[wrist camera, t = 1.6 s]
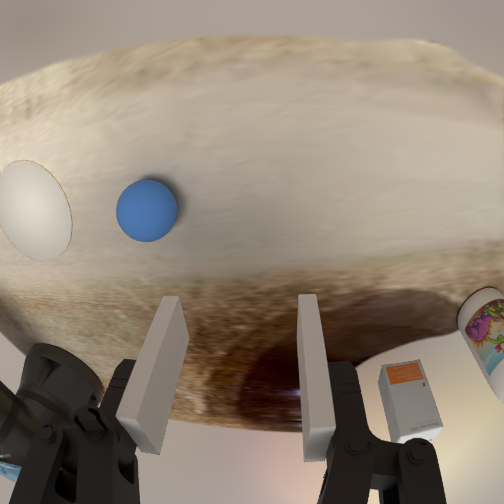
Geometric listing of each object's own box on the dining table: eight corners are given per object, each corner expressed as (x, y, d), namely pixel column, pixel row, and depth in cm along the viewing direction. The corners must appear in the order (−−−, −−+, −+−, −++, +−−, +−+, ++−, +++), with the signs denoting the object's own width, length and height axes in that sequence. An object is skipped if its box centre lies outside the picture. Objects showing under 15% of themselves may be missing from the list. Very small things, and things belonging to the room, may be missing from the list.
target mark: (39, 276, 36) (38, 277, 35) (-17, 202, 31) (-18, 203, 30) (92, 226, 32) (91, 227, 31) (26, 136, 27) (25, 137, 26)
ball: (153, 235, 32) (134, 263, 27) (120, 193, 30) (94, 215, 25) (195, 207, 30) (180, 233, 25) (160, 160, 28) (138, 178, 23)
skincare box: (419, 357, 39) (445, 426, 29) (413, 376, 41) (434, 441, 31) (380, 364, 40) (400, 437, 30) (376, 382, 42) (392, 451, 32)
